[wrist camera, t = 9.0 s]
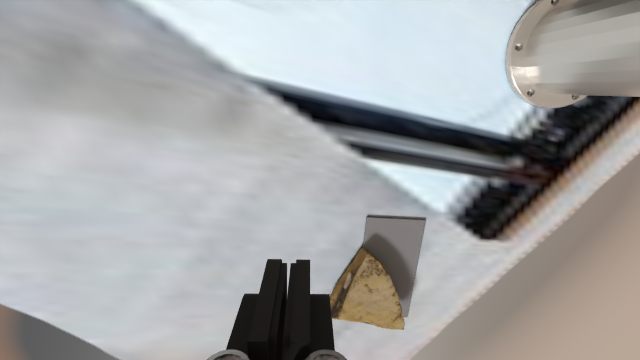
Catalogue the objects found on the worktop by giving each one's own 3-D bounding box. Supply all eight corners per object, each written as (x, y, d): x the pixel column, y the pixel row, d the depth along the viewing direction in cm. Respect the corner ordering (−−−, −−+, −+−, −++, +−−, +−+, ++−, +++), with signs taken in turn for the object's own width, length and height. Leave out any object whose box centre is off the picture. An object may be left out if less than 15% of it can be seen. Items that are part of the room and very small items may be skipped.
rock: (396, 248, 37) (392, 336, 34) (409, 256, 45) (407, 330, 41) (319, 243, 42) (310, 319, 39) (342, 251, 50) (336, 316, 46)
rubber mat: (424, 219, 40) (425, 220, 40) (406, 315, 45) (407, 317, 45) (366, 216, 40) (367, 217, 40) (354, 314, 45) (354, 315, 44)
